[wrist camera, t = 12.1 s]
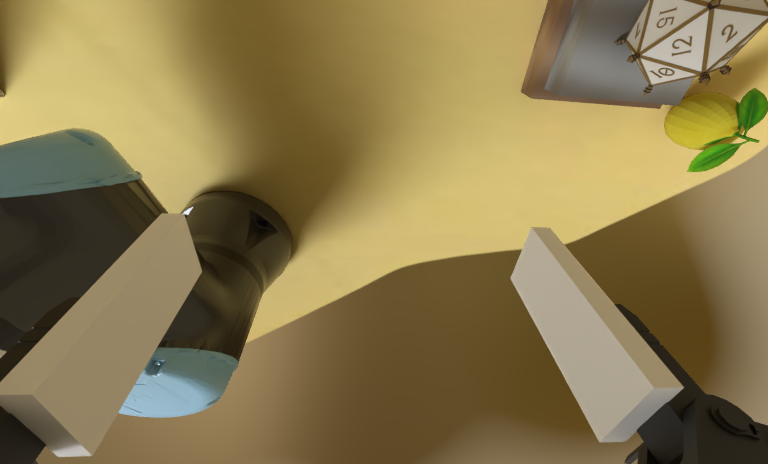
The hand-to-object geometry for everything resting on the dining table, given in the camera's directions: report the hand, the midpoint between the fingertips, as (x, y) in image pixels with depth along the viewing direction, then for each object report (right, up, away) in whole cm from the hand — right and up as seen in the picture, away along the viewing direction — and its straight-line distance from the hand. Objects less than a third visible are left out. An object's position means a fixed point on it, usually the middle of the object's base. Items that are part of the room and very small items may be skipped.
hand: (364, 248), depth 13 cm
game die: (+23, +18, +15) cm, 33 cm away
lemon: (+34, +15, +25) cm, 45 cm away
